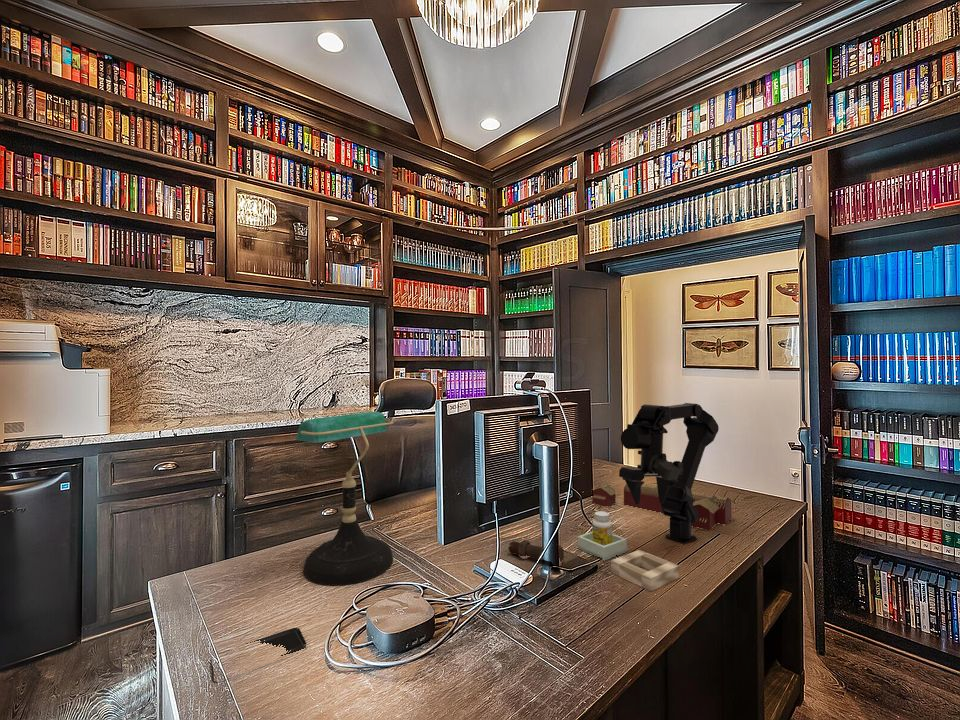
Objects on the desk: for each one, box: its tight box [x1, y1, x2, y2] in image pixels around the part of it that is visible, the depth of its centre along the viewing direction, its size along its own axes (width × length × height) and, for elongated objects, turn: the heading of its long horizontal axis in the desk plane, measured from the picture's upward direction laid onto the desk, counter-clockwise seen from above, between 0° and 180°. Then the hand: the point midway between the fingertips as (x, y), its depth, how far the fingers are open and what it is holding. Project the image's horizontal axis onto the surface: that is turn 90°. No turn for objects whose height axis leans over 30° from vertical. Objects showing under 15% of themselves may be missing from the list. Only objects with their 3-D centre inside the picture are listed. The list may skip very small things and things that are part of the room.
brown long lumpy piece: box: [507, 539, 565, 561], centre depth 119 cm, size 6×5×15 cm
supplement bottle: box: [592, 510, 613, 546], centre depth 124 cm, size 5×5×10 cm
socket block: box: [610, 549, 680, 592], centre depth 109 cm, size 11×11×3 cm
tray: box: [577, 531, 628, 561], centre depth 124 cm, size 10×10×4 cm
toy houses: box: [591, 483, 733, 531], centre depth 157 cm, size 45×20×10 cm, turn 48°
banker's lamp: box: [295, 411, 394, 586], centre depth 117 cm, size 26×23×40 cm
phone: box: [245, 627, 307, 656], centre depth 81 cm, size 8×1×15 cm
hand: (649, 503), depth 125 cm, fingers open, 9 cm apart
